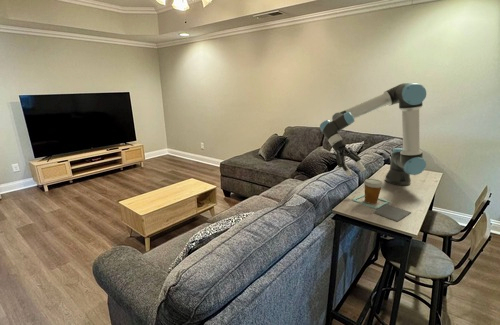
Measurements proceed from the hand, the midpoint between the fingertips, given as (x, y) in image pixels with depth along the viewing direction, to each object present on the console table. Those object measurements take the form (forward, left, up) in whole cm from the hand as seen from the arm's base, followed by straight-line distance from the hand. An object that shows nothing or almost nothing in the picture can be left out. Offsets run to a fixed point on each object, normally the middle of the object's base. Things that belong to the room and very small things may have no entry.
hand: (357, 173), depth 151 cm
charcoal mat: (+5, +24, -14) cm, 28 cm away
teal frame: (0, +10, -14) cm, 17 cm away
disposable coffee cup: (0, +10, -14) cm, 17 cm away
